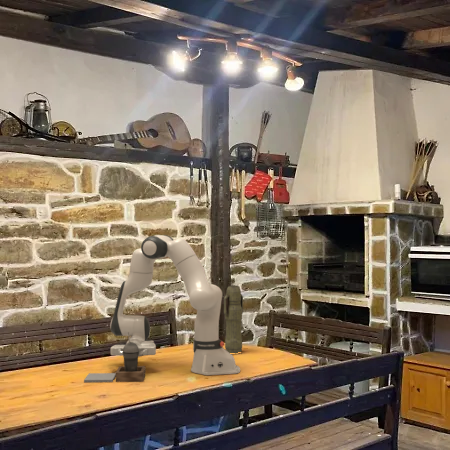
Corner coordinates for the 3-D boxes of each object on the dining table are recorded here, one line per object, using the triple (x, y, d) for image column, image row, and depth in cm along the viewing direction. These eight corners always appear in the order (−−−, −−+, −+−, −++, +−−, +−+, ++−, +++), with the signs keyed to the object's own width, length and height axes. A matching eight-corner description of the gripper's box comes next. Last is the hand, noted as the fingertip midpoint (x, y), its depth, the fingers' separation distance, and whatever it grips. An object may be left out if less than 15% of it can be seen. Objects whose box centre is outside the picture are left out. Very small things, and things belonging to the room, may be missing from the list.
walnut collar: (145, 375, 270) (145, 366, 270) (143, 381, 258) (143, 372, 258) (118, 375, 269) (118, 366, 269) (115, 381, 257) (115, 372, 257)
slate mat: (116, 375, 269) (116, 373, 269) (112, 382, 257) (112, 379, 257) (88, 375, 268) (88, 373, 268) (83, 382, 256) (83, 380, 257)
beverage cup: (135, 380, 259) (136, 333, 259) (119, 380, 261) (119, 333, 261) (141, 376, 266) (141, 331, 266) (125, 376, 268) (126, 330, 268)
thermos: (219, 353, 318) (219, 286, 318) (235, 350, 326) (235, 284, 326) (231, 355, 312) (231, 287, 312) (247, 352, 320) (247, 285, 320)
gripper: (112, 340, 281) (107, 346, 267) (156, 340, 282) (154, 346, 268) (112, 354, 281) (107, 361, 267) (156, 354, 282) (154, 360, 268)
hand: (131, 353), depth 267 cm, fingers open, 8 cm apart
